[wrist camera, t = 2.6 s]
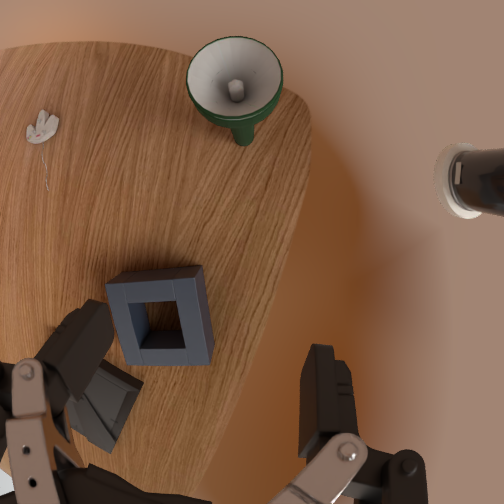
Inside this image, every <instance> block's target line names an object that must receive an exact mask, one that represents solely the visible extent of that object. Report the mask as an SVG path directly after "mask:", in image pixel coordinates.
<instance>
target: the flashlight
mask: <svg viewBox="0 0 504 504" xmlns="http://www.w3.org/2000/svg"><path fill="white" fill-rule="evenodd" d="M186 86H187V90H188V94H189V97H190V98H191V100H192V102H193V103H194V105H195V106H196V108H197V110H198V111H199V112H200V113H201V114H202V115H203V116H204V117H205V118H206V119H207V120H208V121H210V122H212V123H214V124H216V125H218V126H221V127H226V128H231V131H232V134H233V137H234V139H235V141H236V143H237V144H238V145H240V146H248V145H249V144H251V143H252V141H253V138H254V125H255V124H257V123H259V122H260V121H262V120H264V119H265V118H266V117H267V116H268V115H269V114H270V113H271V112H272V111H273V109H274V108H275V106H276V105H277V103H278V101H279V97H280V94H281V90H282V86H283V70H282V67H281V64H280V61H279V59H278V58H277V57H276V55H275V54H274V52H273V51H272V50H271V49H270V48H269V47H267V46H266V45H265V44H263V43H261V42H259V41H257V40H255V39H252V38H248V37H243V36H229V37H224V38H220V39H217V40H215V41H213V42H211V43H209V44H207V45H205V46H204V47H203V48H202V49H200V50H199V51H198V52H197V53H196V55H195V56H194V57H193V59H192V60H191V62H190V65H189V67H188V70H187V74H186Z"/></svg>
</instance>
